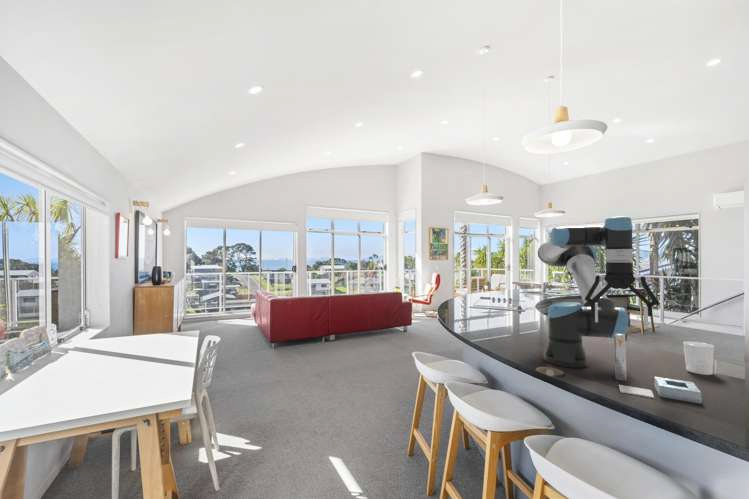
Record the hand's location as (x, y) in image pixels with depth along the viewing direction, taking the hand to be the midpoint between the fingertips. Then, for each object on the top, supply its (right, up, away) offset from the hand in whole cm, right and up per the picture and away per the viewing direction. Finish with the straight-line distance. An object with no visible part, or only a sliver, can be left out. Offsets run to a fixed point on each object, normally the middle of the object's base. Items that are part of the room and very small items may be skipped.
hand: (620, 323), depth 112 cm
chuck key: (0, -19, -1) cm, 19 cm away
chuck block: (+6, -18, -14) cm, 24 cm away
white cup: (+33, -19, +6) cm, 38 cm away
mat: (-4, -18, -12) cm, 22 cm away
